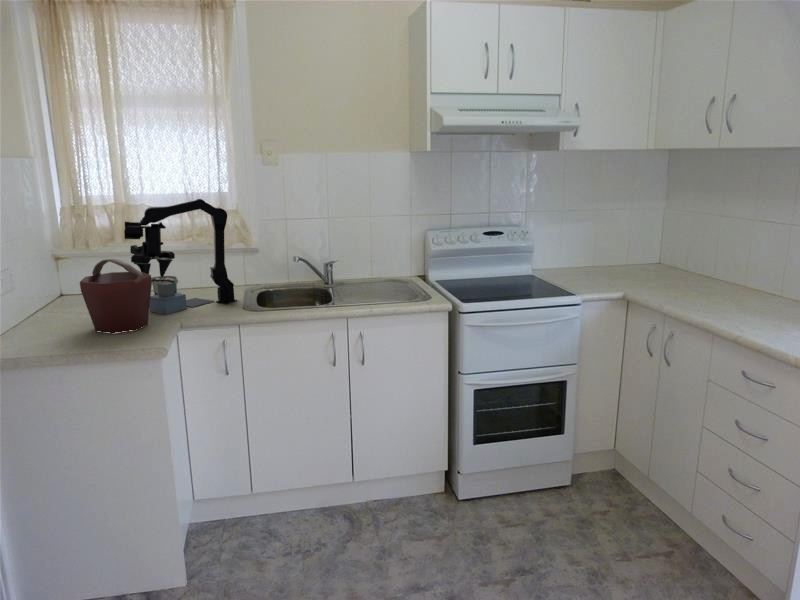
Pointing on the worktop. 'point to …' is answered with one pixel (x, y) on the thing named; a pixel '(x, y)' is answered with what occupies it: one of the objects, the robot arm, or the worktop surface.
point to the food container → (163, 279)
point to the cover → (167, 299)
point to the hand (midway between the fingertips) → (154, 278)
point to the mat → (197, 302)
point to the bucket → (117, 297)
